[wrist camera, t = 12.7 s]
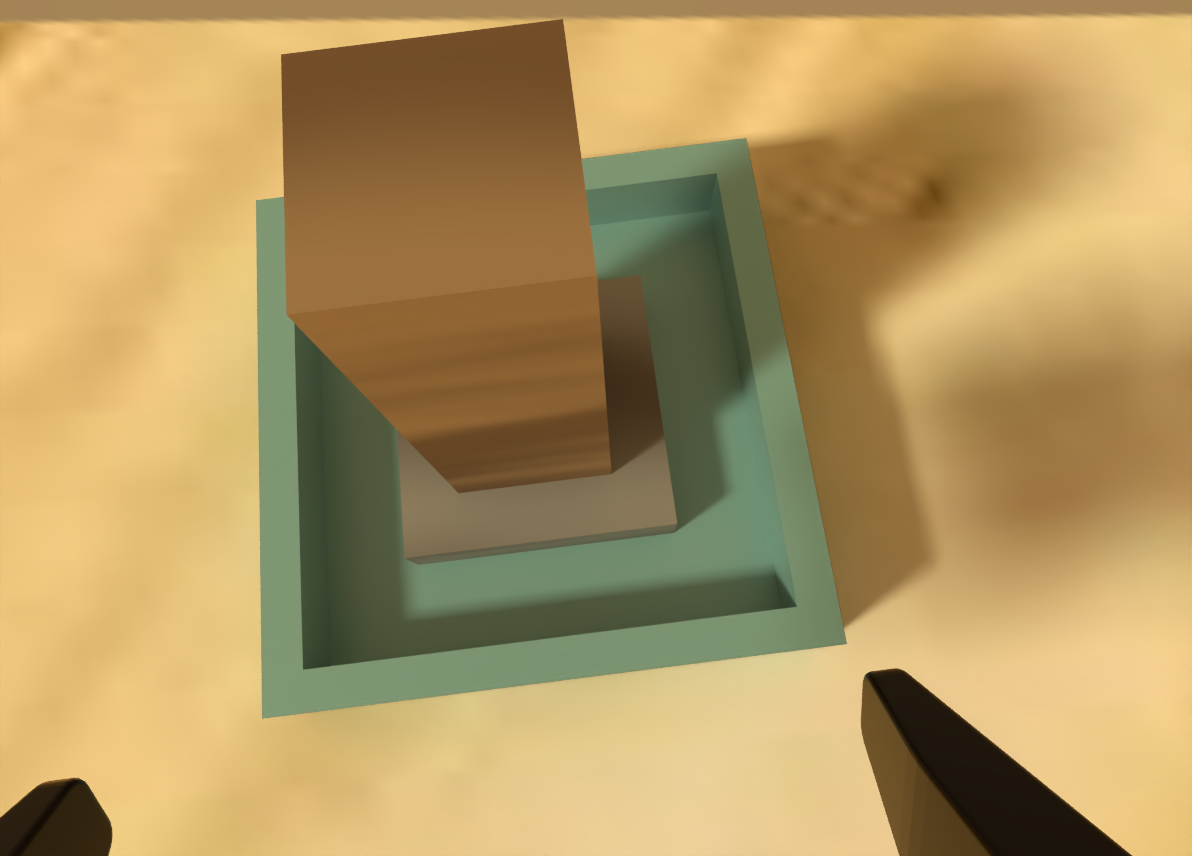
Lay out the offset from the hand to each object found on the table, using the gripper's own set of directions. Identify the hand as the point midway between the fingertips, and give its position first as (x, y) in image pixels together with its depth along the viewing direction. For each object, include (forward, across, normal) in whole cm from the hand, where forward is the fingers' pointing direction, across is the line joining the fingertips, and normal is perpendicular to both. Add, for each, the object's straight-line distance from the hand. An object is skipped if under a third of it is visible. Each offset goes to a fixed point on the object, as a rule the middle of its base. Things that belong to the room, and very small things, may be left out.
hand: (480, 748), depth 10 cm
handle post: (+14, 0, +4) cm, 15 cm away
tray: (+15, 0, +4) cm, 15 cm away
